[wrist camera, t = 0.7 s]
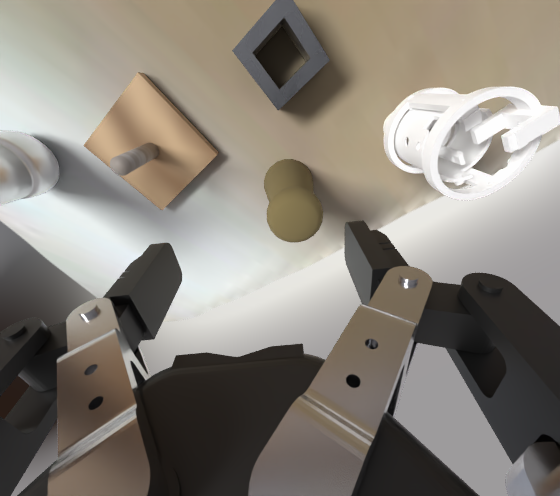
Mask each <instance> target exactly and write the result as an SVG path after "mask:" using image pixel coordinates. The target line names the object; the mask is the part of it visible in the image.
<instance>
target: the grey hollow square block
mask: <svg viewBox="0 0 560 496" xmlns="http://www.w3.org/2000/svg"><path fill="white" fill-rule="evenodd" d="M282 26H283V28H284V29H285V31H286V32H287V34H288V36H289V37H290V39H291V40H292V42H293V43H294V45H295V46H296V48H297V49H298V51H299V52H300V54H301V55H302V57H303V58H304V60H305V61H306V62H305V63H304V64H303V65H302V66H301V67H300V68H299V70H298V71H297V72H296V73H295V74H294V75H293V76H292V77H291V78H290V79H289V80H288V81H287V82H286V83H285V84H284V85H283V86H282V87H281V88H280V89H279V88H278V87H277V86H276V84H275V83H274V82H273V80H272V79H271V78H270V76H269V75H268V73H267V72H266V71H265V69H264V68H263V67H262V65H261V64H260V63H259V61H258V60H257V59H256V57H255V56H256V55H257V53H258V52H259V51H260V50H261V49H262V48H263V47H264V46H265V45H266V44H267V42H268V41H269V40H270V39H271V38H272V37H273V36H274V35H275V34H276V32H277V31H278V30H279V29H280V28H281V27H282ZM232 51H233V52H234V54H235V55H236V56H237V58H238V59H239V60H240V61H241V63H242V64H243V65H244V67H245V68H246V69H247V71H248V72H249V73H250V75H251V76H252V77H253V78H254V80H255V81H256V82H257V84H258V85H259V86H260V88H261V89H262V90H263V91H264V93H265V94H266V95H267V97H268V98H269V99H270V101H271V102H272V103H273V104H274V106H275V107H276V108H277V110H279V109H280V108H281V107H282V106H283V105H284V104H285V103H286V102H288V101H289V100H290V99H291V98H292V97H293V96H294V95H295V94H296V93H297V92H298V91H299V90H300V89H301V88H302V87H303V86H304V85H305V84H306V83H307V82H308V81H309V80H310V79H311V78H312V77H313V76H314V75H315V74H316V73H317V72H318V71H319V70H320V69H321V68H322V67H323V66H324V65H325V64H326V63H327V62H328V61H329V58H328V56H327V55H326V53H325V51H324V50H323V48H322V47H321V45H320V43H319V42H318V40H317V38H316V37H315V35H314V34H313V32H312V30H311V29H310V27H309V25H308V24H307V22H306V21H305V19H304V17H303V16H302V14H301V12H300V11H299V9H298V7H297V6H296V4H295V3H294V1H293V0H275V2H274V3H273V4H272V5H271V6H270V7H269V9H268V10H267V11H266V12H265V13H264V14H263V16H262V17H261V18H260V19H259V20H258V21H257V23H256V24H255V25H254V26H253V27H252V28H251V30H250V31H249V32H248V33H247V34H246V35H245V36H244V38H243V39H242V40H241V41H240V42H239V43H238V45H237V46H236V47H235V48H234V49H233V50H232Z"/></svg>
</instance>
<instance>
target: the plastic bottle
mask: <svg viewBox="0 0 560 496" xmlns="http://www.w3.org/2000/svg"><path fill="white" fill-rule="evenodd" d="M58 179H59V164H58V162H57V159H56V158H55V156H54V154H53V153H52V152H51V150H50V149H49V148H48V147H47V146H46V145H44V144H43V143H42V142H40V141H39V140H37V139H35V138H34V137H32V136H30V135H28V134H25V133H22V132H18V131H5V130H0V206H1V205H4V204H7V203H10V202H13V201H16V200H19V199H25V198H30V197H34V196H38V195H41V194H44V193H46V192H47V191H48V190H50V189H51V188H52V187H53V186H54V185H56V183H57V182H58Z"/></svg>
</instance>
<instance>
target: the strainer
mask: <svg viewBox="0 0 560 496" xmlns="http://www.w3.org/2000/svg"><path fill="white" fill-rule="evenodd" d="M495 97H503V98H506V99H508V100H509V101H511V102H512V103H513V104H508V105H507V106H505V107H504V108H502V109H501V110H499V111H498V112H496V113H495V114H493V115H492V113H491V111H490V109H485V108H479V107H478V104H479V103H481V102H483V101H486V100H488V99H491V98H495ZM558 125H560V117H559V110H558V107H557V106H541V105H540V103H539V101H538V99H537V98H536V97H535V96H534V95H533V94H532V93H530V92H529V91H527V90H525V89H522V88H518V87H488V88H483V89H479V90H476V91H474V92H472V93H469V94H458V93H457V92H455V91H453V90H451V89H447V88H427V89H423V90H420V91H417V92H415V93H413V94H412V95H410V96H408V97H407V98H406V99H405V100H403V101H402V102H401V103H400V104H399V105H398V106H397V108H396V109H395V110H394V112H392V113H391V114H390V115H389V116H388V117H387V118H386V120H385V122H384V125H383V132H384V148H385V152H386V155H387V157H388V158H389V160H390V161H391V162H392V163H393V164H394V165H395V166H397V167H398V168H400V169H402V170H404V171H406V172H409V173H424V175H425V178H426V180H427V181H428V183H429V184H430V185H431V186H432V187H433V188H434V189H435V190H437V191H439V192H440V193H442V194H444V195H445V196H447V197H449V198H452V199H456V200H474V199H478V198H482V197H485V196H487V195H490V194H492V193H494V192H496V191H498V190H500V189H501V188H503V187H504V186H505V185H507V184H508V183H510V182H511V181H512V180H513V179H514V178H515V177H517V176H518V174H519V173H520V172H521V171H522V170H523V169H524V168H525V167H526V166H527V164H528V163H529V162H530V160H531V159H532V157H533V155H534V154H535V152H536V150H537V148H538V145H539V143H540V140H541V137H542V134H545V133H546V132H548V131H550V130H552V129H553V128H555V127H557V126H558ZM504 128H506V129H511V130H510V131H508V132H507V133H505V134H503V135H502V136H501V138H502V142H503V146H504V150H505V151H506V152H510V153H512V152H513V151H514V152H513V154H512V155H511V157H510V158H509V160H508V161H507V162H508V165H507V167H506V168H504V169H500V170H499V171H498V172H497V173H495V174H494V175H493V176H491V175H489V174H486V173H483V172H481V171H478V170H476V169H473V168H471V167H472V166H473V165H475V164H476V163H477V162H478V161H479V160H480V159H481V157H482V156H483V155H484V153H485V152H486V150H487V149H488V147H489V145H490V143H491V140H492V137H493V135H494V134H496V133H497V132H499V131H500V130H502V129H504ZM396 154H397V155H396ZM397 156H398V157H399V158H401V159H402V160H404V161H406V162H408V163H410V164H411V165H406V164H403V163H402V162H401V161H400V160H399V159H398V157H397ZM442 180H443V181H446V182H454V184H455V185H461V184H463V183H466V184H468V185H470V186H472V187H470V188H464V189H452V188H448V187H446V186H445V185H444V183H443V182H442Z"/></svg>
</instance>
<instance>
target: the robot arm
mask: <svg viewBox="0 0 560 496" xmlns="http://www.w3.org/2000/svg"><path fill="white" fill-rule="evenodd" d="M345 261H346V265H347V267H348V270H349V273H350V275H351V277H352V280H353V282H354V285H355V287H356V290H357V292H358V295H359V297H360V299H361V302H362V304H361V305H360V306H359V307H358V309H357V310H356V312H355V313H354V315H353V317H352V318H351V320H350V322H349V323H348V325H347V326H346V328H345V330H344V332H343V333H342V334H341V336H340V338H339V340H338V341H337V343H336V344H335V346H334V347H333V350H332V351H331V353H330V354H329V355H328V357H327V359H326V360H324V359H322V358H319V357H316V356H313V355H309V354H304V351H303V344H295V345H283V346H272V347H268V348H265V349H262V350H259V351H256V352H253V353H250V354H247V355H244V356H241V357H232V356H225V355H218V354H212V353H198V354H188V355H177V356H176V357H175V360H174V362H173V365H172V367H170V368H168V369H165V370H163V371H160V372H159V373H157V374H155V375H153V376H151V374H150V371H149V368H148V366H147V363H146V360H145V358H144V355H143V352H142V350H141V348H140V347H139V343H140V341H141V340H151V339H155V336H156V334H157V332H158V330H159V328H160V326H161V324H162V322H163V320H164V318H165V316H166V313H167V311H168V309H169V307H170V305H171V303H172V301H173V299H174V297H175V295H176V293H177V291H178V288H179V286H180V284H181V282H182V272H181V269H180V266H179V264H178V261H177V259H176V256H175V254H174V251H173V249H172V246H171V245H170V244H169V243H160V244H151V245H150V246H149V247H148V248H147V249H146V251H145V252H144V253H143V254H142V256H140V257H139V258H138V259H136V260H135V261H133V262H132V263H131V264H130V265H129V266H128V267H127V269H126V270H125V272H123V274H122V275H121V276H120V279H118V280H117V281H116V282H115V283H114V285H113V286H112V287H111V288H110V289H109V291H108V292H107V293H106V294H105V296H104V297H103V298H97V299H94V300H91V301H88V302H86V303H84V304H82V305H80V306H79V307H77V308H76V309H75V310H74V311H73V312H72V313H71V314H70V315H69V316H68V318H67V320H66V321H65V322H62V323H59V324H56V325H53V326H49V327H47V326H46V325H45V324H44V323H43V322H42V320H40V319H39V318H29V319H26V320H22V321H20V322H17V323H15V324H13V325H11V326H9V327H8V328H6V329H5V330H3V331H2V332H0V396H1V395H2V393H3V392H4V391H5V390H6V389H7V388H8V386H9V385H10V384H11V383H12V381H13V380H14V379H15V378H16V376H18V375H19V376H20V377H21V378H22V379H23V380H24V381H25V382H27V383H28V384H29V385H30V387H29V388H28V389H27V391H26V392H25V393H24V394H23V396H22V397H21V398H20V400H19V401H18V402H17V404H16V405H15V406H14V408H13V409H12V410H11V411H10V413H9V414H8V415H7V417H6V418H5V419H3V418H1V417H0V496H11V494H12V492H13V491H14V489H15V487H16V486H17V484H18V483H19V481H20V479H21V478H22V476H23V474H24V473H25V471H26V469H27V468H28V466H29V464H30V463H31V461H32V459H33V458H34V456H35V454H36V453H37V451H38V450H39V448H40V446H41V445H42V443H43V441H44V439H45V438H46V436H47V435H48V433H49V431H50V430H51V428H52V426H53V424H54V423H55V421H56V420H57V423H58V424H57V431H58V456H57V460H56V461H55V462H54V463H53V464H52V465H51V466H50V467H48V468H47V469H46V470H45V471H44V472H43V473H42V474H41V475H39V476H38V477H37V478H36V479H35V480H34V481H33V482H32V483H31V484H30V485H28V486H27V487H26V488H25V489H24V490H23V491H22V492H21V493H20V494H19V495H17V496H479V495H478V494H477V493H475V492H474V490H473V489H471V488H470V487H469V486H468V485H467V484H466V483H465V482H464V481H463V480H462V479H460V478H459V477H458V476H457V475H456V474H455V473H454V472H452V471H451V470H450V469H449V468H448V467H447V466H446V465H445V464H444V463H443V462H442V461H441V460H440V459H439V458H437V457H436V456H435V455H434V454H433V453H432V452H431V451H430V450H428V448H426V447H425V446H424V445H423V444H422V443H421V442H420V441H419V440H418V439H417V438H416V437H414V436H413V435H412V434H411V433H410V432H409V431H408V430H407V429H406V428H405V427H403V426H402V425H401V424H400V423H399V422H398V421H397V420H396V419H395V418H394V416H395V413H396V410H397V407H398V404H399V400H400V397H401V393H402V390H403V386H404V383H405V380H406V377H407V374H408V371H409V368H410V365H411V362H412V359H413V356H414V353H415V350H416V348H417V344H418V343H423V344H428V345H433V346H439V347H445V348H446V349H447V351H448V353H449V355H450V356H451V358H452V360H453V361H454V363H455V365H456V367H457V368H458V370H459V372H460V374H461V375H462V377H463V379H464V380H465V382H466V384H467V386H468V388H469V389H470V391H471V393H472V394H473V396H474V397H475V400H476V401H477V403H478V405H479V407H480V408H481V410H482V411H483V413H484V415H485V417H486V418H487V420H488V422H489V424H490V425H491V427H492V429H493V431H494V432H495V434H496V436H497V438H498V439H499V441H500V443H501V444H502V446H503V448H504V450H505V451H506V453H507V455H508V456H509V458H510V460H511V462H512V463H513V465H512V466H511V467H510V469H509V470H508V472H507V474H506V480H505V483H506V490H507V494H508V496H560V326H559V325H557V323H555V322H554V321H553V320H552V319H551V318H550V317H549V316H548V315H547V314H545V313H544V312H543V311H542V310H541V309H540V308H539V307H538V306H537V305H535V304H534V303H533V302H532V301H531V300H530V299H529V298H528V297H527V296H526V295H524V294H523V293H522V292H521V291H520V290H519V289H518V288H517V287H516V286H515V285H513V284H512V283H511V282H509V281H507V280H505V279H503V278H501V277H498V276H495V275H492V274H487V273H472V274H468V275H466V276H465V277H464V278H463V279H462V282H461V285H456V284H447V283H438V282H433V281H432V279H431V277H430V276H429V275H428V274H427V273H425V272H424V271H422V270H420V269H418V268H414V267H410V266H408V264H407V263H406V261H405V260H404V259H403V258H402V256H401V255H400V253H399V252H398V251H397V249H395V247H394V245H393V244H392V243H391V241H390V240H389V239H388V237H387V236H386V235H385V234H383V233H381V232H379V231H378V230H371V231H370V229H369V228H368V226H367V225H366V223H365V222H364V221H363V220H362V221H354V222H346V224H345Z"/></svg>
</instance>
